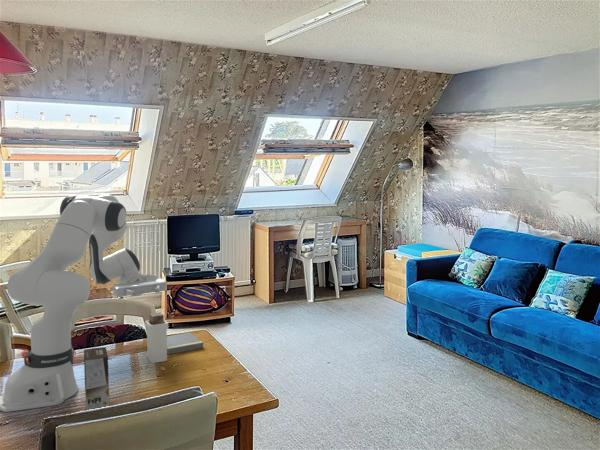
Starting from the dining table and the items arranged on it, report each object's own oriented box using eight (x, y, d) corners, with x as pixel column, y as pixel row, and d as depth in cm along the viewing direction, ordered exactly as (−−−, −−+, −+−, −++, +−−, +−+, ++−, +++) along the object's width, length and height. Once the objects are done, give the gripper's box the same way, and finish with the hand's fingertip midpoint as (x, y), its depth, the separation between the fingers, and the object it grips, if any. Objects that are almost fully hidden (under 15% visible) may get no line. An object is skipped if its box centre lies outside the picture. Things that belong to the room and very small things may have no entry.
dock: (167, 354, 195) (167, 348, 195) (156, 342, 207) (156, 337, 207) (203, 347, 203) (203, 342, 203) (190, 337, 215) (190, 332, 214)
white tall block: (151, 364, 186) (150, 325, 184) (145, 358, 191) (145, 320, 190) (168, 360, 189) (168, 322, 188) (163, 355, 195) (162, 318, 193)
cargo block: (152, 327, 186) (152, 316, 185) (149, 324, 189) (149, 313, 189) (163, 325, 188) (163, 315, 188) (160, 322, 191) (160, 312, 191)
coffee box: (110, 409, 152) (108, 357, 150) (86, 413, 149) (84, 360, 147) (107, 396, 160) (105, 346, 158) (85, 400, 157) (83, 349, 155)
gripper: (108, 279, 204) (117, 287, 193) (160, 274, 215) (171, 281, 204) (109, 295, 205) (118, 304, 194) (160, 288, 216) (171, 296, 205)
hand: (145, 292), depth 199 cm, fingers open, 8 cm apart
